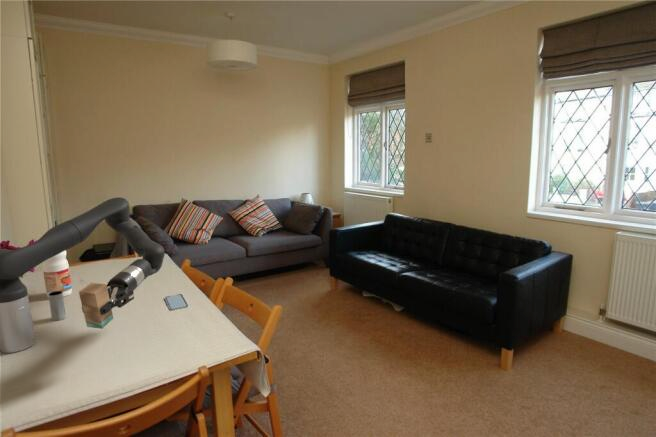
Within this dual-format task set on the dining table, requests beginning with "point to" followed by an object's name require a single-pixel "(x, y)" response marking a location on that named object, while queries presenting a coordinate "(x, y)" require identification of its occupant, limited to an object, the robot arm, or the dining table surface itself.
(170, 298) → the smartphone
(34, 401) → the dining table surface
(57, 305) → the planter
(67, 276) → the white strawberry milk bottle
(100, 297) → the brown tall block
